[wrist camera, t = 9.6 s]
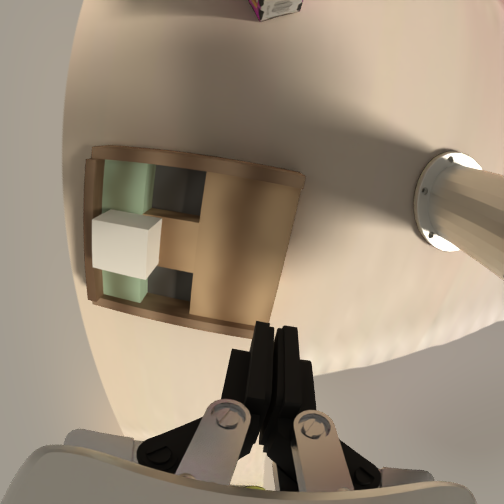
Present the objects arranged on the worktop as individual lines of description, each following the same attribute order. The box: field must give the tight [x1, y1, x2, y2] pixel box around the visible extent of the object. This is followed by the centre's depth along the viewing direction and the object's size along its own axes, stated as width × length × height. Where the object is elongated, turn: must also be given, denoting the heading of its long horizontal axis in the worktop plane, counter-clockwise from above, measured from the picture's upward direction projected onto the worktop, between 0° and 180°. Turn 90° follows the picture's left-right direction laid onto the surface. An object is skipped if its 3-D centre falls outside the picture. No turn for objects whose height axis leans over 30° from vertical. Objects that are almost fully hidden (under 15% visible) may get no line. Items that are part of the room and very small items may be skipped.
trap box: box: [83, 145, 306, 339], centre depth 30 cm, size 21×18×5 cm
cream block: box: [92, 209, 162, 280], centre depth 27 cm, size 6×5×4 cm
